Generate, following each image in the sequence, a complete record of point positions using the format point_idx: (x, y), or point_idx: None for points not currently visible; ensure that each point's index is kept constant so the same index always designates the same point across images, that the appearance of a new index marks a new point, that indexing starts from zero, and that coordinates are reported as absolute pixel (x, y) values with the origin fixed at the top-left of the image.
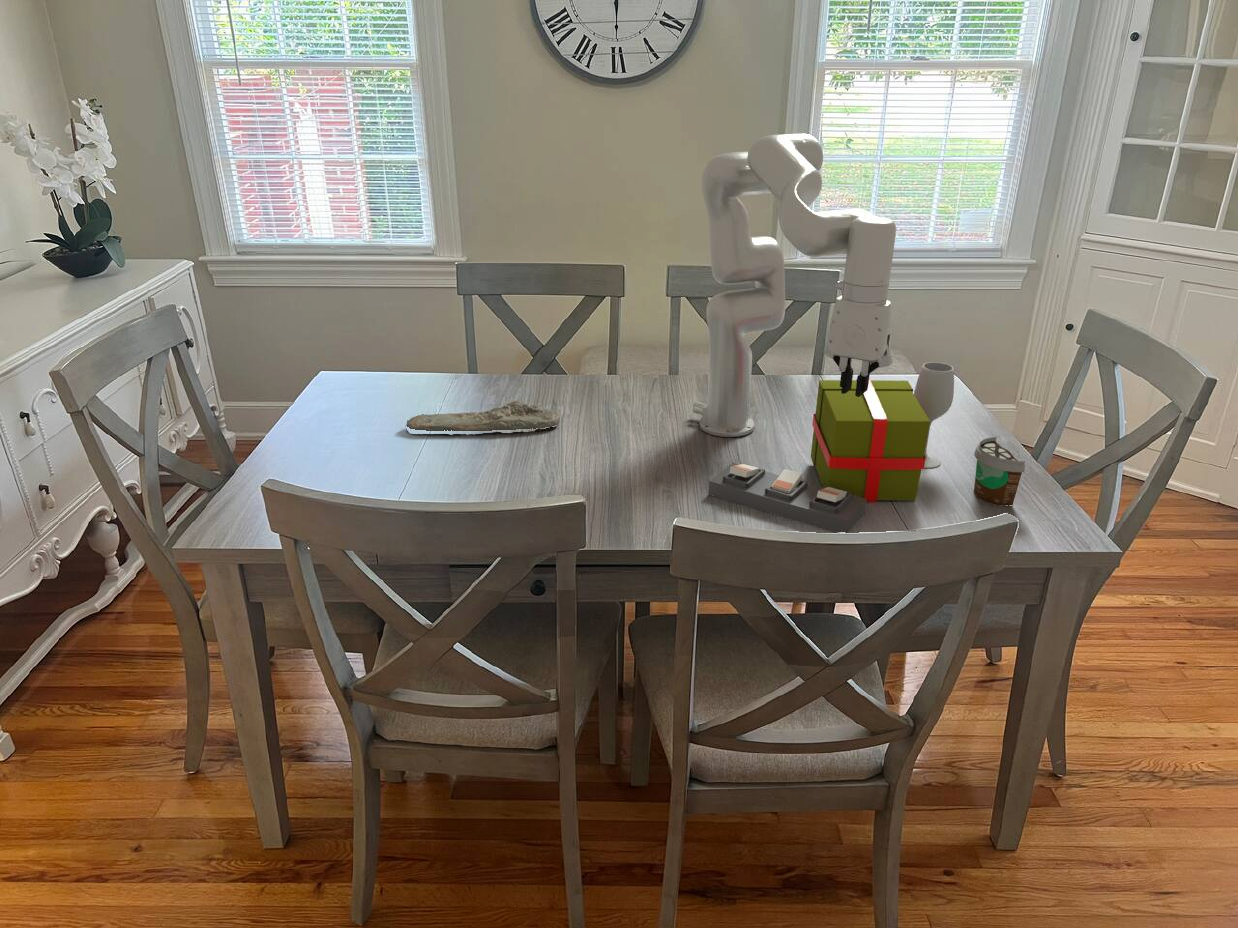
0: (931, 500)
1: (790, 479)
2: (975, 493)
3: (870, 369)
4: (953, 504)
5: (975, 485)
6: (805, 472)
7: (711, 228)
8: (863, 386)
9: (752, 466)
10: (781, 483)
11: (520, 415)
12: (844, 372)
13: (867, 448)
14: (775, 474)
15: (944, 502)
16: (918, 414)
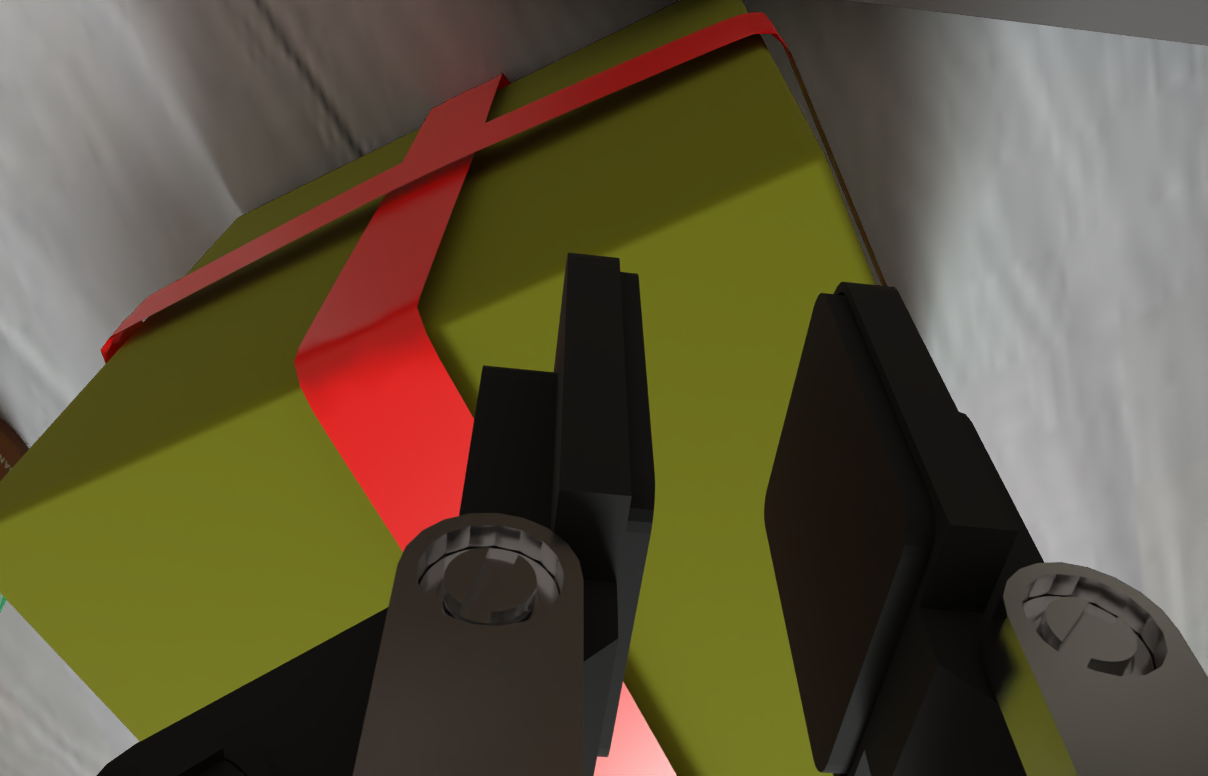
0: (175, 277)
1: None
2: (8, 435)
3: (338, 704)
4: (56, 284)
5: (1, 469)
6: (920, 298)
7: None
8: (512, 412)
9: None
10: None
11: None
12: (996, 559)
13: (489, 198)
14: (1133, 29)
15: (106, 285)
16: (105, 624)
